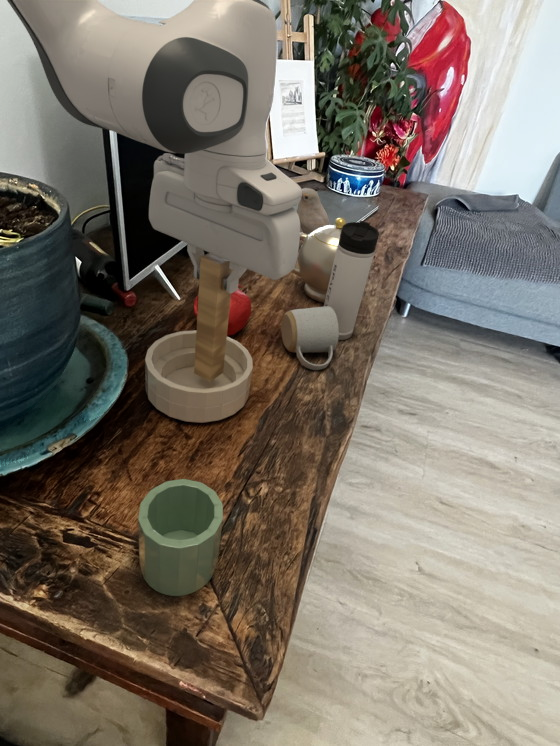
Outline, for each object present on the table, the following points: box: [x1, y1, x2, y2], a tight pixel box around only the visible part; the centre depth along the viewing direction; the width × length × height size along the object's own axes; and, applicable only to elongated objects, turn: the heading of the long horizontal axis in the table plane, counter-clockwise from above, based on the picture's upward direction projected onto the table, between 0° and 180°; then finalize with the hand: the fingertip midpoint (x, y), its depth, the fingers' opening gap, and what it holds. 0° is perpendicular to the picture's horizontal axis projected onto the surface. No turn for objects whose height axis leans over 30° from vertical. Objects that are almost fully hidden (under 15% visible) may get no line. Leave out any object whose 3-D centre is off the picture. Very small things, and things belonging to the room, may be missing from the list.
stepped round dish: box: [144, 329, 254, 423], centre depth 70 cm, size 15×15×6 cm
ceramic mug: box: [280, 306, 339, 371], centre depth 82 cm, size 11×8×8 cm
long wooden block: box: [194, 252, 233, 382], centre depth 66 cm, size 3×3×18 cm
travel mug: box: [323, 220, 380, 341], centre depth 86 cm, size 6×7×20 cm
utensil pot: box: [137, 478, 224, 597], centre depth 48 cm, size 8×8×8 cm
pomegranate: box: [193, 284, 252, 337], centre depth 85 cm, size 10×10×9 cm
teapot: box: [290, 217, 347, 304], centre depth 99 cm, size 18×14×16 cm
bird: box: [296, 187, 331, 235], centre depth 117 cm, size 5×14×15 cm, turn 100°
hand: (215, 284), depth 63 cm, fingers closed on long wooden block, 3 cm apart
